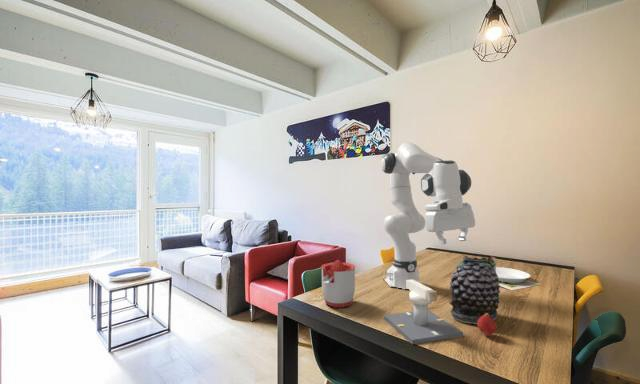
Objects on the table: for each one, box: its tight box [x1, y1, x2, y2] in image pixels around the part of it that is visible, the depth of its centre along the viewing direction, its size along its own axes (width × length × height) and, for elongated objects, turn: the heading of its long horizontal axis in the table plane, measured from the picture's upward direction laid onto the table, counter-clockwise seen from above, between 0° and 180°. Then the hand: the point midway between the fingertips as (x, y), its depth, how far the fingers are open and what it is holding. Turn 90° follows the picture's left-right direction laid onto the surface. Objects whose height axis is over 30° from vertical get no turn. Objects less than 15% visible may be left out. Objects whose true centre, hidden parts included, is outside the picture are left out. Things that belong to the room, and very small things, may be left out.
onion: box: [476, 313, 498, 337], centre depth 100 cm, size 6×6×8 cm
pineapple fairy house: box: [448, 255, 501, 325], centre depth 114 cm, size 21×15×25 cm
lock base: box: [383, 303, 464, 345], centre depth 107 cm, size 20×20×10 cm
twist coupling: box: [406, 279, 438, 306], centre depth 107 cm, size 15×8×6 cm, turn 14°
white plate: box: [496, 266, 531, 284], centre depth 166 cm, size 25×25×4 cm
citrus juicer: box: [320, 259, 356, 308], centre depth 130 cm, size 16×17×20 cm
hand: (453, 242), depth 104 cm, fingers open, 8 cm apart
